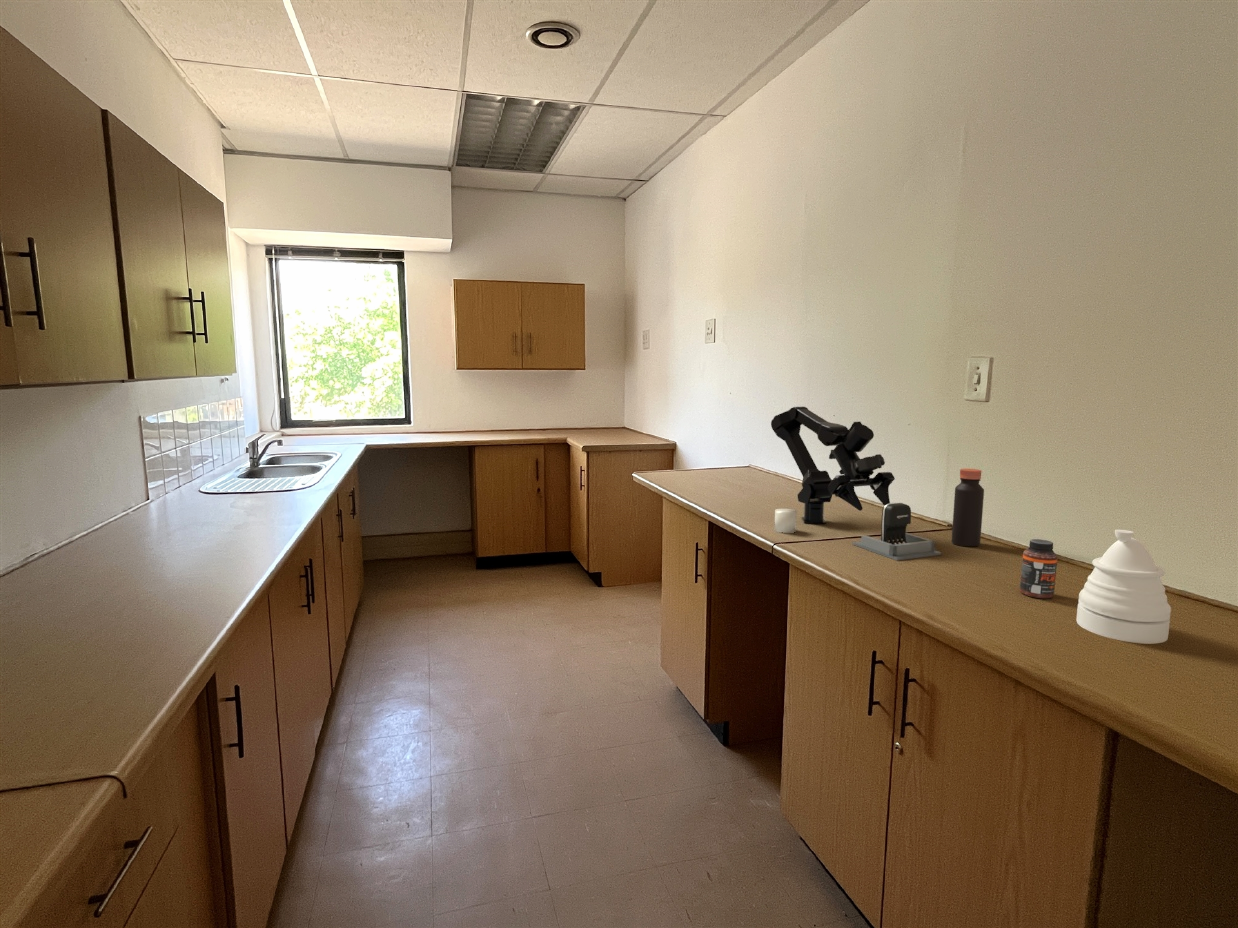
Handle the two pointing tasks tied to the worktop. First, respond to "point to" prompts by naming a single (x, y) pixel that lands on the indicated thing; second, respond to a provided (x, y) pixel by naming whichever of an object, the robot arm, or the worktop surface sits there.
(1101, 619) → the honey pot
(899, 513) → the battery charger
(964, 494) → the vinegar
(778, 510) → the white rounded cube
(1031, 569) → the supplement bottle
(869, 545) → the tray
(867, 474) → the robot arm
